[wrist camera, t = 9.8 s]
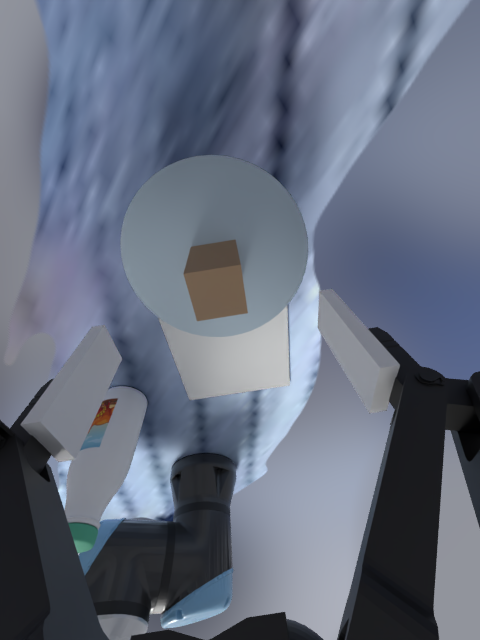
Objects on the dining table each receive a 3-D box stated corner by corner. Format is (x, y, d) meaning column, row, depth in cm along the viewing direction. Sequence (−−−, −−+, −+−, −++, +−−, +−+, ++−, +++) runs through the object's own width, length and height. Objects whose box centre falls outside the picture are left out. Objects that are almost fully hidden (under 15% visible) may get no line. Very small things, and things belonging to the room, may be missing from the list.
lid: (304, 318, 29) (326, 361, 23) (158, 342, 29) (144, 389, 23) (305, 137, 19) (343, 130, 13) (88, 174, 19) (34, 183, 14)
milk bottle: (141, 382, 42) (92, 531, 25) (153, 410, 46) (117, 554, 30) (94, 387, 42) (14, 540, 25) (111, 415, 46) (52, 562, 30)
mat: (288, 382, 45) (289, 385, 44) (189, 397, 45) (189, 400, 45) (286, 295, 35) (286, 297, 34) (158, 314, 35) (157, 317, 35)
